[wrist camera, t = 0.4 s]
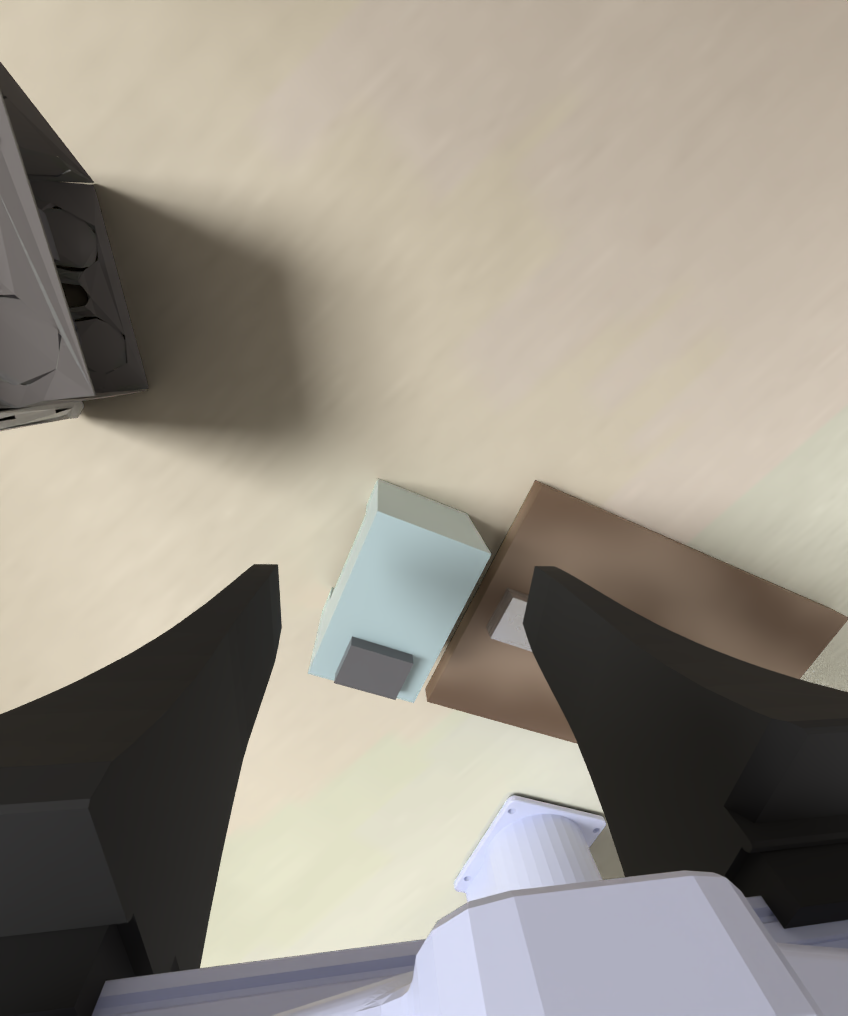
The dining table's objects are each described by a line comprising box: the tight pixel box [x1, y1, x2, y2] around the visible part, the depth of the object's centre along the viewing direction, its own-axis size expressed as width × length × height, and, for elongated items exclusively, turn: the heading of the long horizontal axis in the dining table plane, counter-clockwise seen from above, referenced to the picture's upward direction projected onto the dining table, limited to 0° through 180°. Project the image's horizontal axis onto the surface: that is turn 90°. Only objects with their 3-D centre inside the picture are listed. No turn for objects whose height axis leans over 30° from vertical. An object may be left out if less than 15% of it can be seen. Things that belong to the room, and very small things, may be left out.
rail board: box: [426, 480, 848, 744], centre depth 25 cm, size 14×22×2 cm, turn 66°
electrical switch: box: [0, 62, 148, 431], centre depth 13 cm, size 9×5×9 cm, turn 4°
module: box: [308, 478, 491, 703], centre depth 20 cm, size 8×5×6 cm, turn 156°
